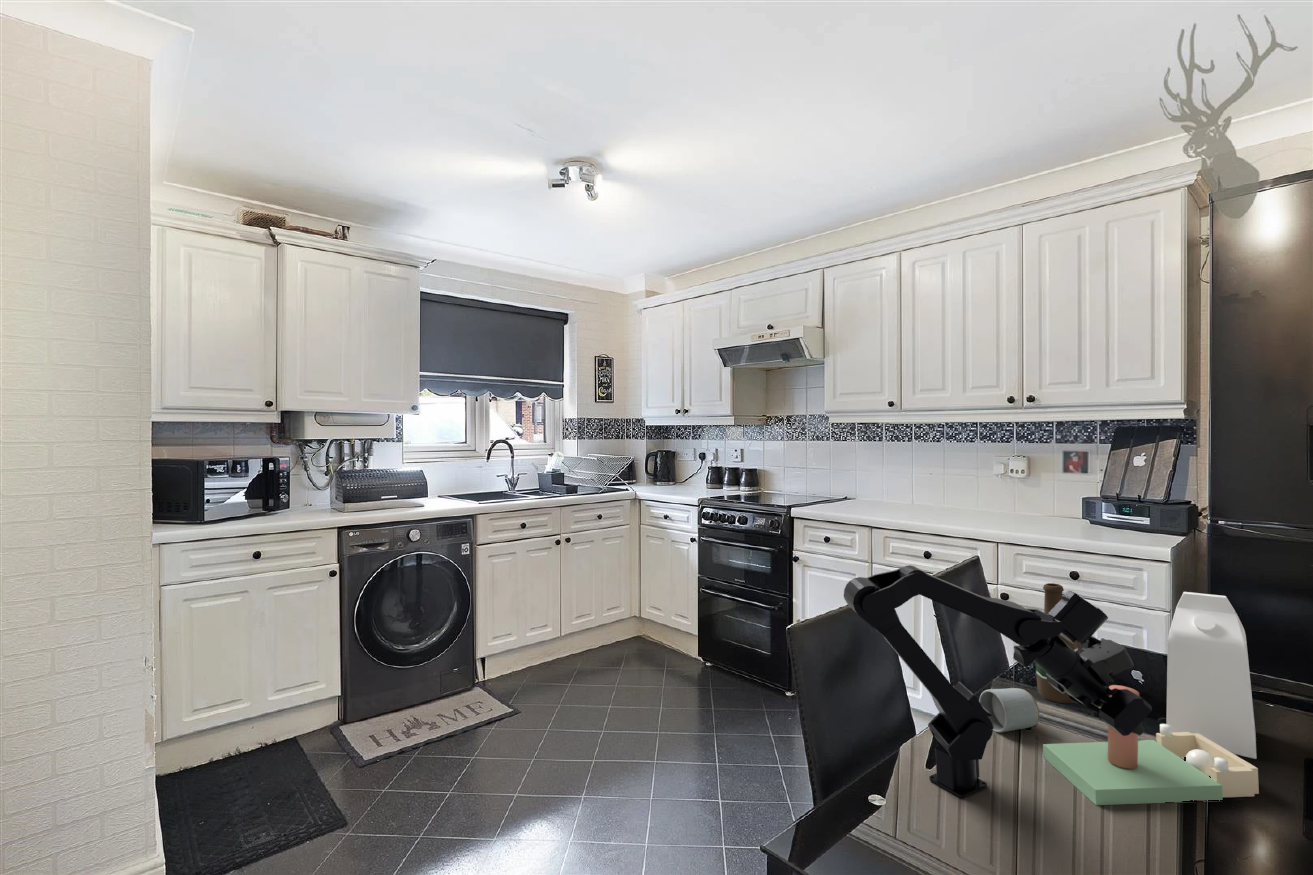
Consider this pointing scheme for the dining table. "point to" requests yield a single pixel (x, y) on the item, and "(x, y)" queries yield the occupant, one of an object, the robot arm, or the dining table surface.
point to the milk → (1210, 674)
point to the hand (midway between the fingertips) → (1132, 726)
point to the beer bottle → (1051, 599)
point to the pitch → (1131, 774)
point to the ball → (1200, 760)
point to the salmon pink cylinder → (1123, 743)
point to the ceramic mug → (1010, 708)
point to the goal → (1228, 767)
